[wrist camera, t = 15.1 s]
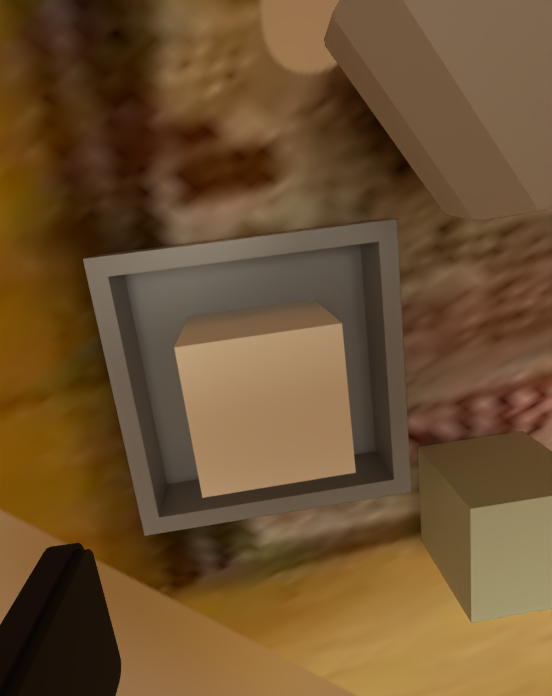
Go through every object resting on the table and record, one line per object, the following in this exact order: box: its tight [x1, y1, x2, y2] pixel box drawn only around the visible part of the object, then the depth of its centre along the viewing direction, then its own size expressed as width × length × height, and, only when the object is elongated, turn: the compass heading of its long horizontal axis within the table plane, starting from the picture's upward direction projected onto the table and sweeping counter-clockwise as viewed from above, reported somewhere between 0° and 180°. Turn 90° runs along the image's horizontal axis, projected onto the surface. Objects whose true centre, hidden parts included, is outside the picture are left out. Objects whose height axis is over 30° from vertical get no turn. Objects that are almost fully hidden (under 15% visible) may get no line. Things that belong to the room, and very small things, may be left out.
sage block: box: [418, 431, 552, 623], centre depth 24 cm, size 6×6×6 cm
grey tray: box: [83, 219, 411, 536], centre depth 22 cm, size 13×13×4 cm
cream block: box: [174, 299, 356, 498], centre depth 21 cm, size 6×6×6 cm
